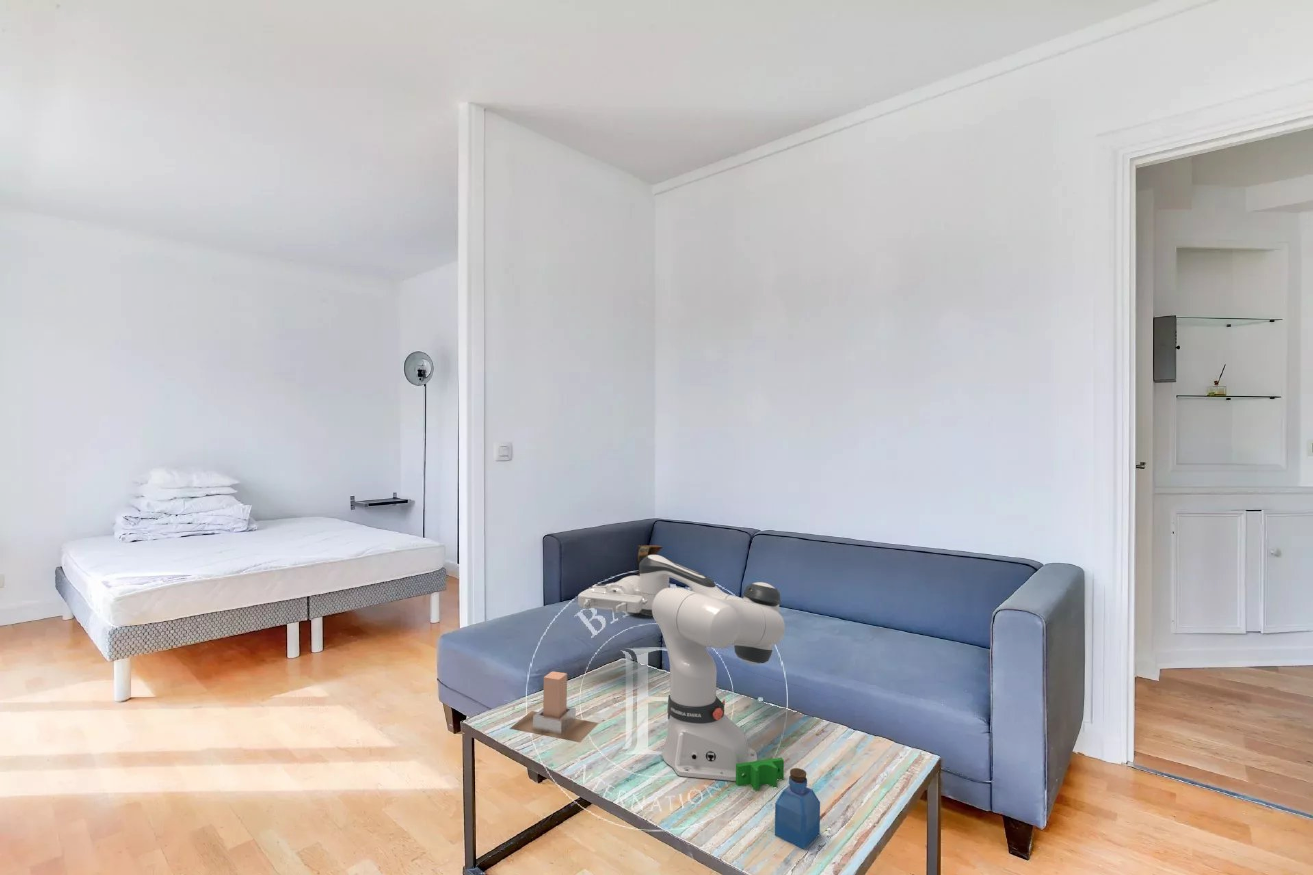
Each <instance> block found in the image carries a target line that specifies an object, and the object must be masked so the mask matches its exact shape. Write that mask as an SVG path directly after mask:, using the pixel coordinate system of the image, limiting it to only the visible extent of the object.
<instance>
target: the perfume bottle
mask: <svg viewBox="0 0 1313 875" xmlns="http://www.w3.org/2000/svg"><path fill="white" fill-rule="evenodd" d="M807 773H808V772H806V770H804V769H802V768H799V767H795V768H791V769H790V770H789V774H790V775H788V784H789V785H787V787H785V788H784V789H783V790H782V792H781V793H780V794H779V797H778V798H777V799H776V801H775V803H774V804H775V806H774V836H775V837H777V838H779V839H781V840H783V841H785V842H787V843H789V844H791V845H793V846H795V847H797V848H799V849H801V850H803V851H804V850H806V848H807V847H809V845H811V844H812V843H813V842H814V840H816V839H817V838H818V837H819V836H820V832H821V830H820V829H821V827H820V825H821V824H820V823H821V801H820V800H819V798H818V797H817V795H816V793H815V791H814V790H813V789H812V788H810V787H808V778H807V775H808V774H807ZM818 835H819V836H818Z"/></svg>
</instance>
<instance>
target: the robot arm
mask: <svg viewBox="0 0 1313 875" xmlns="http://www.w3.org/2000/svg"><path fill="white" fill-rule="evenodd" d="M638 574H640V576H637V574H636V575H635V574H634V575H628V576H625V577H622V578H621V579H620V580H617V581H615V582H610V583H603V584H602V583H601V584H594V585H592V587H590V588H587V589H585V590H583V591H581V592H580V593H579V594H578V596H577V606H578V607H580V608H582V609H583V610H590V609H598V610H604V611H605V610H606V611H607V610H608V611H612V613H615V614H619V613H621V612H623V613H624V612H625V613H632V614H639V613H642V614H641V615H644V614H647V615H646V616H652V615H653V616H652V617H653V619H654V621H655V622H656V624H657V625H658V627H659V630H660V632H661V633H662V637H663V641H664V644H665V647H666V653H667V656H668V661H669V695H668V698H667V706H666V707H667V719H668V725H667V726H668V727H667V732H666V737H665V738H666V739H665V742H664V743H665V744H664V746H663V750H662V753H661V756H662V759H663V761H664V762H665V763H666V764H668V765H669V767H671V768H672V769H673V770H674V772H675V774H677V775H678V777H679V776H680V777H689V778H697V779H698V778H699V779H708V780H709V779H710V780H719V781H720V780H721V781H731V782H732V781H733V782H736V764H739V763H746V762H753V761H759V759H758V755H757V753H756V751H755V750H754V749H753V748H750V747H749V745H748V739H747V736H746V732H745V731H744V729H742V727H740V726H738V724H736V723H735V722H734V721H733V720H732V719H731V718H729V717H728V716H727V715H726V714H725V705H726V700H725V698H724V699H723V700H722V701H721V699H719V697H718V696H717V666H716V662H715V659H714V658H713V657H712V656H711V654H710V652H709V651H708V648H713V649H722V650H723V649H726V648H727V649H728V648H730V647H731V646H734V653H735V654H736V656H737V658H739V659H741V660H742V661H743V662H745V663H748V664H750V665H760V664H766V663H767V662H769V661H770V659H771V656H772V653H773V646H774V645H777V644H778V643H780V642H781V640H782V639H783V638H784V636H785V633H786V623H785V620H784V618H783V616H782V615H781V614H780V604H781V593H780V591H779V590H778V589H777V588H775V587H774V586H773V585H771V584H770V583H767V582H763V581H761V582H760V581H757V582H753V583H749V584H747V585H746V586H745V589H744V591H743V594H742V596H743V598H742V597H739V596H736V595H732V594H729V593H726V592H724V591H723V590H721V589H720V588H719V587H718V586H717V585H716V583H715V581H714V580H713V579H712V578H710V577H709V576H707V575H704V574H702V573H700V572H697V571H696V570H692V569H690V568H688V567H685V566H683V565H681V564H679V563H676V562H673V561H672V560H671V559H668V558H667V557H664V556H662V555H659V554H657V555H647V556H646V557H645V558H644V559H643V560H642V561H641V562H640V564H639V569H638ZM670 578H671V579H673V580H675V581H678V582H680V583H683V584H685V585H686V586H688V588H690V590H689V589H686V588H684V587H670ZM669 587H670V588H669ZM638 612H639V613H638ZM707 647H708V648H707ZM743 775H744V773H743V774H742V776H743Z"/></svg>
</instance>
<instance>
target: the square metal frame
mask: <svg viewBox="0 0 1313 875" xmlns="http://www.w3.org/2000/svg"><path fill="white" fill-rule="evenodd" d="M576 711H577V710H576V707H570V706H567V711H566V714H565V715H563V716H562V717H561V718H560V719H557V718H552V717H546V716H543V708H541V709H540V710H538V711H537V712H538V713H536V714H535V715H534V716H533V730H536V731H542V732H547V733H552V734H557V735H562V734H563V733H564V732H565V731H566V730H567V729H568V728H569V727H570V726H571V725H572V724H574V723H575V721H576V719H577V718H576V717H577V716H576V713H577V712H576Z"/></svg>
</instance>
